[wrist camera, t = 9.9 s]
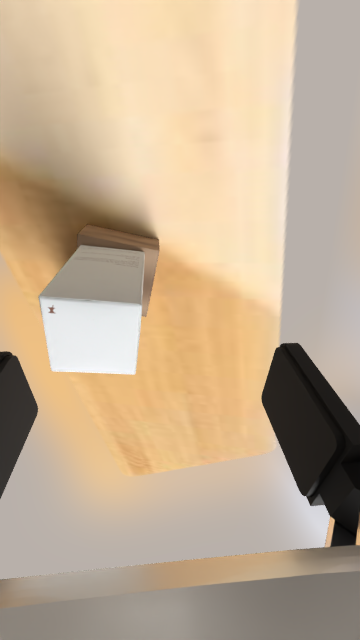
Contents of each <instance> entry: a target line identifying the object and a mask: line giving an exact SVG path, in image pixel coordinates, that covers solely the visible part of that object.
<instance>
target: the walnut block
mask: <svg viewBox="0 0 360 640" xmlns="http://www.w3.org/2000/svg"><path fill="white" fill-rule="evenodd" d="M80 245H87V246H96V247H105V248H115V249H124V250H133V251H141V252H144V254H145V259H144V279H143V294H142V314H141V316H144V317H146V316H147V311H148V306H149V301H150V296H151V291H152V286H153V281H154V276H155V271H156V266H157V261H158V256H159V240H157V239H153V238H148V237H143V236H139V235H134V234H130V233H125V232H120V231H116V230H111V229H107V228H102V227H97V226H93V225H88V224H87V225H86V226H85V227H84V228H83V229H82V230H81V231H80V232H79V233H78V234H77V249H78V248H79V246H80Z"/></svg>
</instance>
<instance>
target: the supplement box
mask: <svg viewBox="0 0 360 640" xmlns="http://www.w3.org/2000/svg"><path fill="white" fill-rule="evenodd" d="M144 259H145V254H144V252H141V251H133V250H124V249H115V248H105V247H96V246H87V245H80V246H79V248H78V249H77V250H76V251H75V252H74V254H73V255H72V256H71V257H70V259H69V260H68V261H67V262H66V263H65V265H64V266H63V267H62V268H61V270H60V271H59V272H58V273H57V274H56V276H55V277H54V278H53V279H52V281H51V282H50V283H49V284H48V286H47V287H46V288H45V289H44V290H43V291H42V293H41V294H40V295H39V302H40V307H41V312H42V318H43V323H44V329H45V336H46V341H47V348H48V354H49V360H50V366H51V370H52V371H62V372H88V373H112V374H133V375H134V374H135V373H136V365H137V356H138V347H139V338H140V326H141V314H142V294H143V279H144Z"/></svg>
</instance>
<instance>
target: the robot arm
mask: <svg viewBox="0 0 360 640" xmlns="http://www.w3.org/2000/svg"><path fill="white" fill-rule="evenodd" d="M262 403H263V406H264V408H265V411H266V413H267V415H268V418H269V420H270V423H271V425H272V427H273V430H274V432H275V434H276V437H277V439H278V441H279V444H280V446H281V448H282V451H283V453H284V455H285V458H286V460H287V463H288V465H289V467H290V470H291V472H292V474H293V477H294V479H295V481H296V483H297V486H298V488H299V490H300V492H301V494H302V495H303V496H306V497H307V499H308V501H309V503H310V506H316V505H325V506H326V508H327V510H328V513H329V515H330V521H329V527H328V532H327V537H326V543H325V547H323V548H310V549H297V550H287V551H276V552H265V553H255V554H245V555H235V556H224V557H214V558H204V559H194V560H184V561H174V562H164V563H155V564H144V565H135V566H126V567H115V568H106V569H96V570H86V571H77V572H67V573H58V574H49V575H39V576H30V577H21V578H11V579H2V580H0V640H360V425H359V423H358V422H357V421H356V419H355V418H354V417H353V415H352V414H351V413H350V411H349V410H348V409H347V407H346V406H345V405H344V403H343V402H342V401H341V399H340V398H339V397H338V395H337V394H336V392H335V391H334V390H333V389H332V387H331V386H330V384H329V383H328V382H327V380H326V379H325V378H324V376H323V375H322V374H321V372H320V371H319V370H318V368H317V367H316V366H315V364H314V363H313V362H312V360H311V359H310V358H309V356H308V355H307V353H306V352H305V351H304V349H303V348H302V347H301V345H299V344H298V343H283V344H281V345H280V347H278V348H276V350H275V353H274V356H273V360H272V363H271V366H270V370H269V373H268V376H267V379H266V383H265V386H264V389H263V393H262ZM37 412H38V406H37V403H36V401H35V399H34V396H33V394H32V391H31V389H30V387H29V384H28V382H27V380H26V377H25V375H24V372H23V370H22V367H21V365H20V362H19V360H18V358H17V357H16V356H13V355H12V353H10V352H0V498H1V496H2V494H3V491H4V489H5V487H6V484H7V482H8V480H9V478H10V475H11V473H12V471H13V469H14V466H15V464H16V462H17V459H18V457H19V455H20V452H21V450H22V448H23V446H24V443H25V441H26V439H27V437H28V434H29V432H30V430H31V427H32V425H33V423H34V420H35V418H36V416H37Z"/></svg>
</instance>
